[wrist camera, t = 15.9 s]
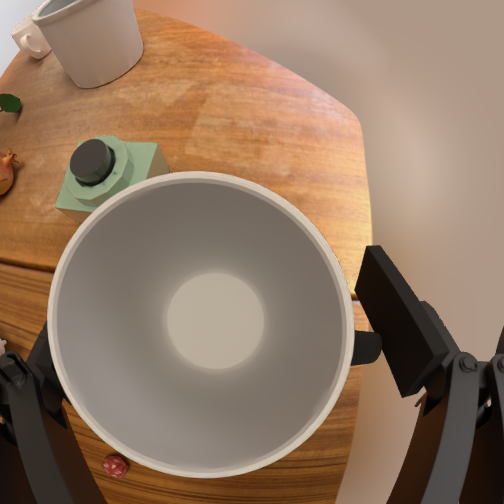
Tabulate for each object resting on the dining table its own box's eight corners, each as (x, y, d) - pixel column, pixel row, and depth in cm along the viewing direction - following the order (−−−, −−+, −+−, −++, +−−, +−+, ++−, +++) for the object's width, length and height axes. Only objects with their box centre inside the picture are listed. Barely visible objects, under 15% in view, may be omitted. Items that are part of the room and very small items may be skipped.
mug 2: (136, 374, 16) (41, 426, 6) (159, 238, 17) (84, 158, 8) (322, 403, 16) (403, 478, 6) (343, 268, 18) (443, 219, 8)
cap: (120, 150, 23) (112, 138, 21) (106, 187, 22) (97, 178, 20) (87, 149, 23) (79, 138, 21) (73, 185, 22) (63, 176, 20)
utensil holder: (73, 106, 33) (25, 31, 16) (67, 65, 35) (35, 3, 18) (155, 64, 35) (133, -24, 18) (135, 30, 38) (117, -38, 20)
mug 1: (32, 54, 37) (15, 25, 26) (60, 37, 38) (45, 5, 27) (25, 79, 35) (2, 48, 24) (55, 60, 36) (35, 24, 25)
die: (115, 447, 24) (105, 457, 21) (135, 464, 24) (127, 475, 21) (104, 458, 23) (94, 468, 20) (123, 474, 23) (115, 485, 20)
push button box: (170, 170, 31) (153, 131, 23) (153, 235, 30) (127, 210, 22) (99, 165, 31) (72, 131, 23) (80, 224, 29) (44, 200, 22)
